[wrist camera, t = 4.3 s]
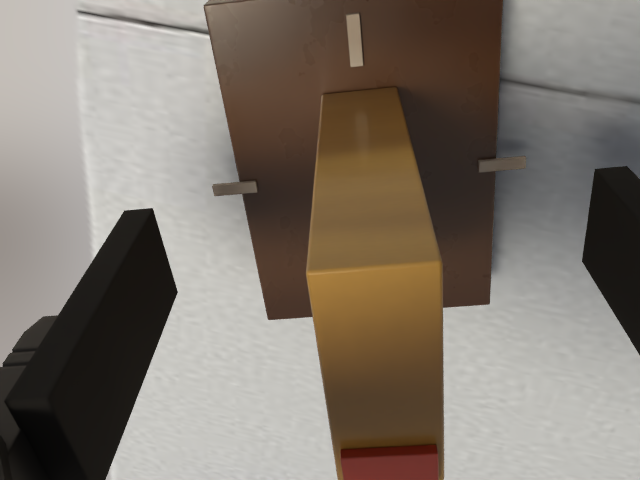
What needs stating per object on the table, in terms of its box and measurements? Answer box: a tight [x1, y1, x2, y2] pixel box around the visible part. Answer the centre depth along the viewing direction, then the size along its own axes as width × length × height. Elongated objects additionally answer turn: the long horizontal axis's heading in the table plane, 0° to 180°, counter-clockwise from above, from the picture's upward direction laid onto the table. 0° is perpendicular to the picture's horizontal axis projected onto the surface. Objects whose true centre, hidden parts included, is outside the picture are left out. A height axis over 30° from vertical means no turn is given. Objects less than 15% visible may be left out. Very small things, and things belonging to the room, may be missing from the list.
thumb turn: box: [306, 87, 444, 480], centre depth 15 cm, size 6×2×9 cm, turn 7°
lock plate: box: [204, 0, 526, 320], centre depth 19 cm, size 11×10×2 cm
